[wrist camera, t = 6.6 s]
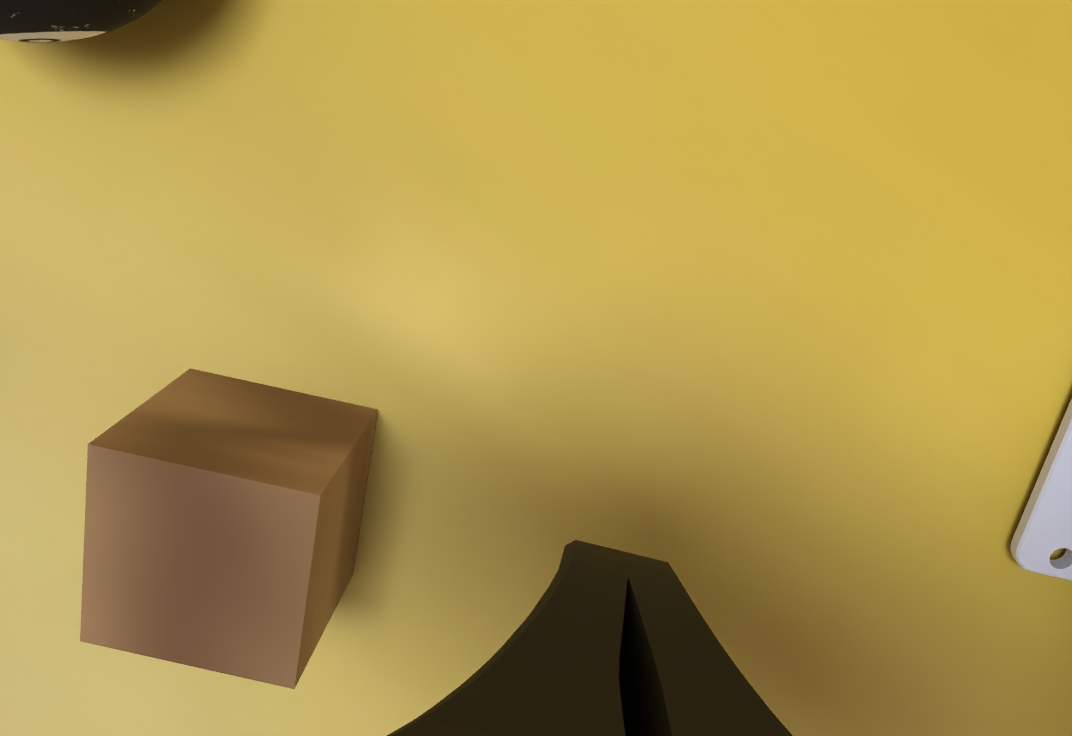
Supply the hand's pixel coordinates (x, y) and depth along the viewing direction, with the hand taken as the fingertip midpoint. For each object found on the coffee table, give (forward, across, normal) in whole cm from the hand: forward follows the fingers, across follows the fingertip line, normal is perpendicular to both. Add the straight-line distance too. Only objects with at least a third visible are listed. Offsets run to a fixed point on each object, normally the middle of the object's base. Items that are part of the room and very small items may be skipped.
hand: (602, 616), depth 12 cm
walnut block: (+10, +7, +4) cm, 13 cm away
